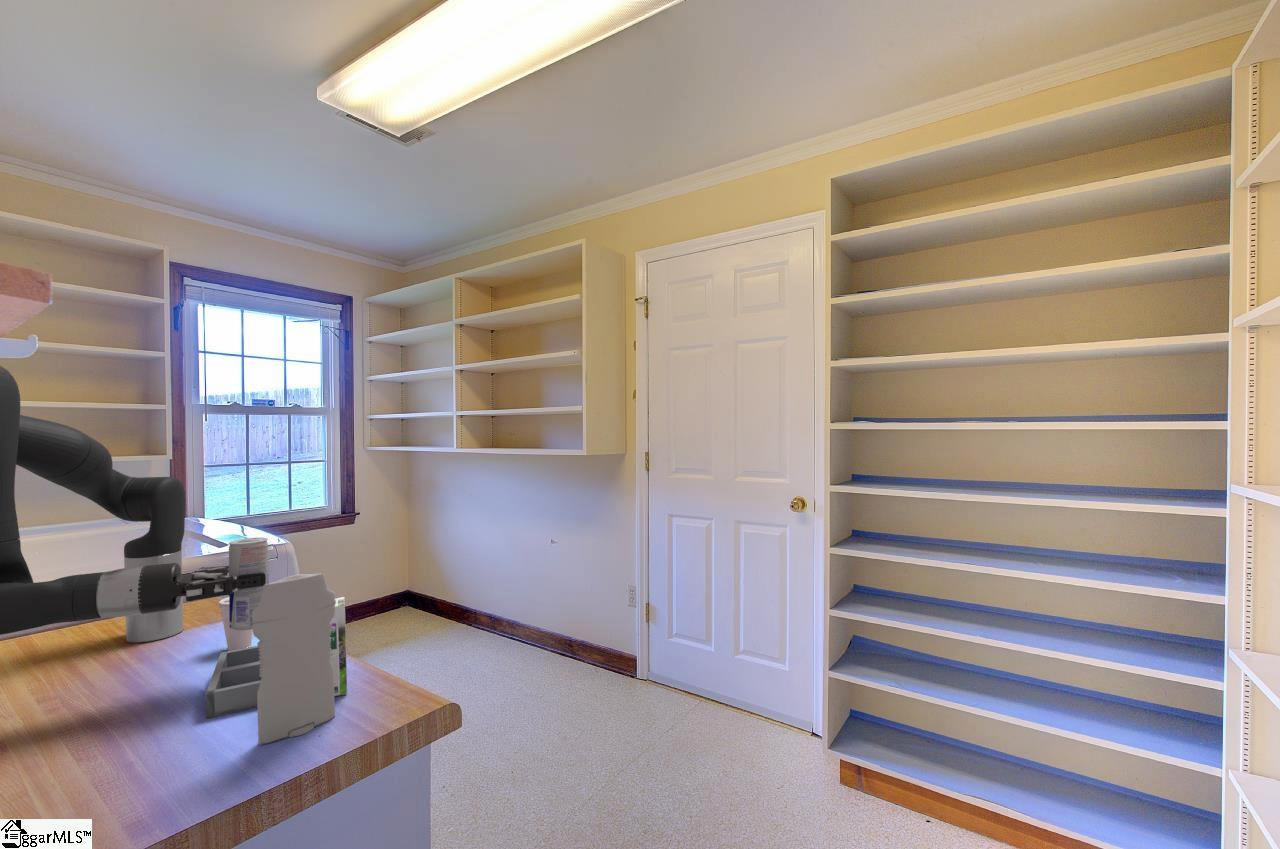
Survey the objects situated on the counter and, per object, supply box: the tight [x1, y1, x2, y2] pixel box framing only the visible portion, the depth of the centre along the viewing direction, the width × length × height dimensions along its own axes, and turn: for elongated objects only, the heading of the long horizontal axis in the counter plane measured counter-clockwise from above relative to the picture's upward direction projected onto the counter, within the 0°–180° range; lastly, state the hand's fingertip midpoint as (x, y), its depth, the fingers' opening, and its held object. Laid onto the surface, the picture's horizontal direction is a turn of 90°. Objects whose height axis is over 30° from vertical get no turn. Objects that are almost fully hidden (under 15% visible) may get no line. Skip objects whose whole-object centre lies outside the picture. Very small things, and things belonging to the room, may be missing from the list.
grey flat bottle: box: [252, 572, 336, 746], centre depth 81 cm, size 11×4×22 cm, turn 139°
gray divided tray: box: [205, 645, 261, 719], centre depth 95 cm, size 18×10×4 cm, turn 31°
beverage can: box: [228, 537, 269, 630], centre depth 99 cm, size 6×6×15 cm
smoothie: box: [218, 596, 253, 651], centre depth 112 cm, size 6×6×14 cm
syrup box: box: [330, 596, 348, 697], centre depth 93 cm, size 6×6×14 cm
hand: (266, 574), depth 100 cm, fingers closed on beverage can, 5 cm apart
